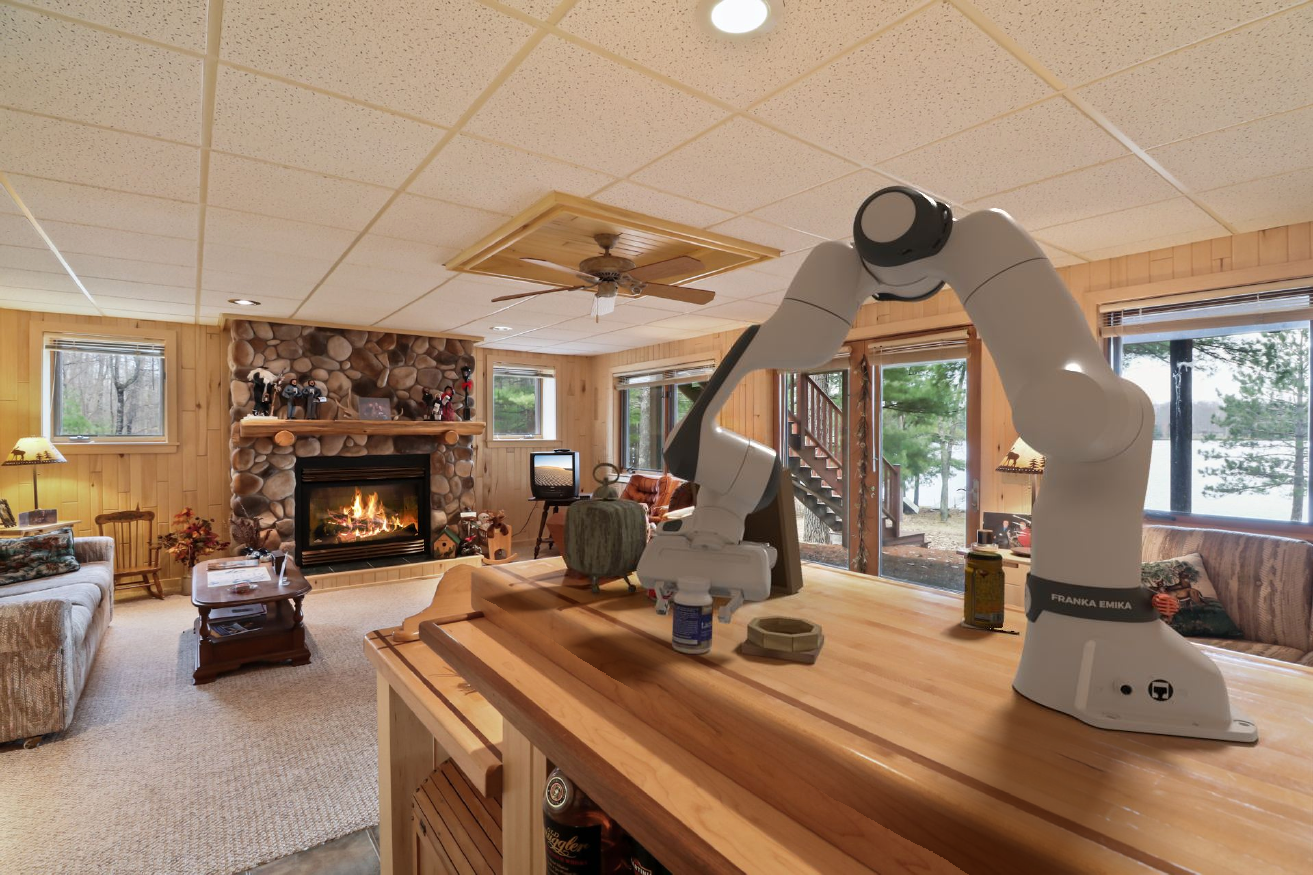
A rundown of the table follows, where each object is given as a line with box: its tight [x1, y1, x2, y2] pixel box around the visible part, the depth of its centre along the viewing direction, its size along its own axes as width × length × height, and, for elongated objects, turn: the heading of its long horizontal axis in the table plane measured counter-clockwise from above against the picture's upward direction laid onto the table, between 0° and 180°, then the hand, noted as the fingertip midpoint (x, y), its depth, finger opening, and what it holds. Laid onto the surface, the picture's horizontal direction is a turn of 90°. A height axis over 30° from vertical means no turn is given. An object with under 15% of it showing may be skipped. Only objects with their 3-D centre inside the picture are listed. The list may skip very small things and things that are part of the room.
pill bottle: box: [671, 576, 714, 655], centre depth 92 cm, size 6×6×10 cm
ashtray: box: [741, 615, 825, 665], centre depth 93 cm, size 10×10×3 cm
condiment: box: [960, 550, 1019, 634], centre depth 107 cm, size 7×8×12 cm
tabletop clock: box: [563, 462, 648, 594], centre depth 125 cm, size 14×9×25 cm, turn 52°
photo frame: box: [690, 466, 804, 596], centre depth 131 cm, size 15×22×25 cm
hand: (691, 616), depth 92 cm, fingers open, 8 cm apart
